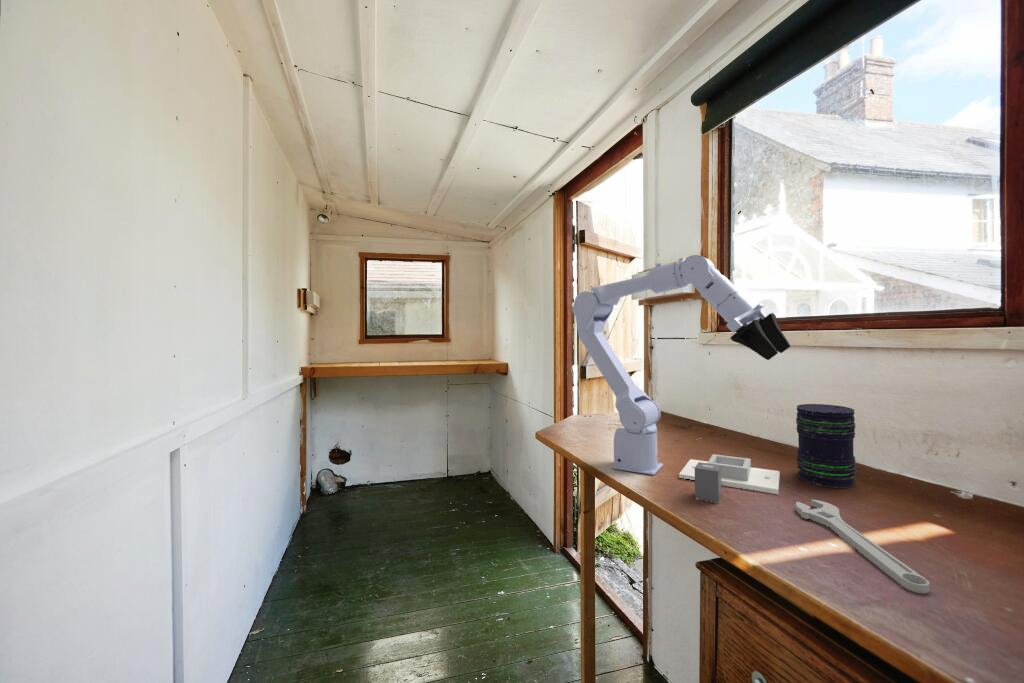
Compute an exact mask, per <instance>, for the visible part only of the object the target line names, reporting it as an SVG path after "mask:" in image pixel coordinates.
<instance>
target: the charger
mask: <svg viewBox="0 0 1024 683" xmlns="http://www.w3.org/2000/svg"><path fill="white" fill-rule="evenodd" d="M722 490H723V489H722V485H721V465H716V464H708V463H701V462H698V464H697V465H696V467H695V481H694V499H695V498H698V499H702V500H707V501H712V502H717V503H716V504H718V503H719V504H720V502H719V501H721V499H722V497H721V496H722V494H723V493H722V492H723V491H722ZM720 498H721V499H720ZM707 501H706V502H707ZM712 502H711V503H712Z"/></svg>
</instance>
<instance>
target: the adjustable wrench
mask: <svg viewBox="0 0 1024 683" xmlns="http://www.w3.org/2000/svg"><path fill="white" fill-rule="evenodd" d="M810 502H811V503H810V504H811V505H810V506H809V505H808V504H805V503H802V502H800V501H796V502H795V512H796V511H797V512H798V513H799V514H800V515H801V516H800V515H799V514H798V513H797V512H796V513H797V514H798V515H799V516H800V518H801V517H804V518H806V519H812V520H815V521H817V522H819V523H822V524H824V525H826V526H828V527H830V528H831V529H832V530H834V531H835V532H836V533H837V534H838V535H839V536H838V535H837V534H836V533H835V532H834V533H835V534H836V535H837V536H838V537H840V539H842V538H843V539H844V540H843V539H842V540H843V541H844V542H846V543H847V542H848V543H849V544H848V543H847V544H848V545H850V546H851V547H852V546H853V547H852V548H853V549H855V548H856V549H857V550H858V551H857V550H856V549H855V550H856V551H857V552H858V553H860V554H861V555H862V554H863V555H862V556H864V557H865V558H866V559H867V560H869V561H870V562H871V563H873V564H874V565H875V566H876V567H878V569H880V571H882V572H884V573H885V574H886V575H888V576H889V577H890V578H891V579H893V580H894V581H896V583H898V584H899V585H900V586H901V587H902V588H905V589H906V590H908V591H911V592H914V593H917V594H929V593H930V581H929V580H928V579H926V578H925V577H923V576H922V575H921V574H919V573H918V572H917V571H915V570H914V569H912V568H910V567H909V566H908V565H906V563H904V562H902V561H901V560H900V559H898V558H896V557H895V556H894V555H893V554H891V553H890V552H888V551H887V550H885V549H884V548H882V547H881V546H880V545H878V544H876V543H875V542H873V541H872V540H871V539H869V538H868V537H866V536H865V535H864V534H862V533H861V532H859V531H858V530H856V528H853V527H852V526H851V525H849V524H848V523H847V522H845V521H844V520H843V519H842V517H841V515H840V508H838V507H837V506H835V505H833V504H831V503H829V502H827V501H823V500H819V499H818V500H817V499H811V500H810ZM811 506H814V507H816V508H817V509H816V508H814V507H813V509H812V507H811ZM806 519H805V520H806ZM819 523H818V524H819ZM822 524H821V525H822ZM824 525H823V526H824ZM826 526H825V527H826ZM828 527H827V528H828ZM831 529H830V530H831ZM832 530H831V531H832Z"/></svg>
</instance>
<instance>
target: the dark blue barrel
mask: <svg viewBox="0 0 1024 683" xmlns="http://www.w3.org/2000/svg"><path fill="white" fill-rule="evenodd" d="M796 411H797V412H796V420H795V421H796V423H795V424H796V428H795V429H796V433H797V434H798V439H797V440H798V449H797V453H796V465H797V470H798V471H797V477H798V479H800V480H801V479H802V480H801V481H803V480H804V482H806V483H808V482H809V483H808V484H811V483H813V484H812V485H815V484H816V486H820V487H825V488H826V487H827V488H833V489H835V488H836V489H848V488H853V487H855V486H856V480H855V477H856V474H855V473H857V472H856V471H857V470H856V469H857V466H856V457H855V456H854V439H855V437H856V436H855V435H856V432H855V431H856V422H855V416H854V415H855V409H854V408H852V407H847V406H843V405H835V404H822V403H821V404H820V403H817V404H816V403H805V404H798V405H796Z"/></svg>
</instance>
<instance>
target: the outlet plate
mask: <svg viewBox="0 0 1024 683" xmlns="http://www.w3.org/2000/svg"><path fill="white" fill-rule="evenodd" d="M698 462H701V463H708V464H716V465H721V486H723V487H730V488H737V489H741V488H742V489H743V490H747V489H748V491H753V490H754V491H756V492H760V493H766V494H772V495H779V491H780V490H779V488H780V476H781V475H780V470H772V469H767V468H759V467H752V462H751V458H748V457H745V458H744V457H737V456H729V455H722V454H716V453H715V454H714V453H713V454H712V455H711V456H710V458H709V460H708V461H705V460H701V459H700V460H699V459H689V460H688V461H687V463H686V464H685V466H684V467H682V469H681V471H680V472H679V474H678V478H684V479H683V480H685V479H690V480H689V481H691V480H695V467H696V465H697V464H698Z"/></svg>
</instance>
